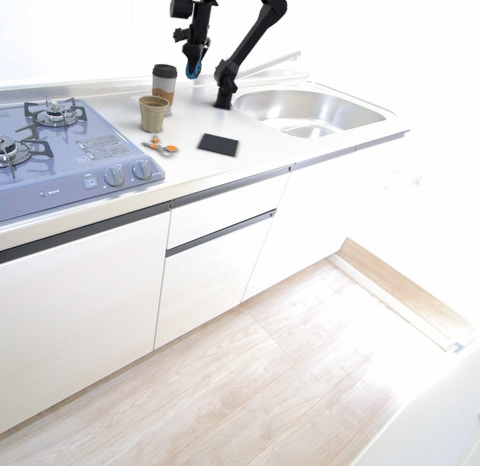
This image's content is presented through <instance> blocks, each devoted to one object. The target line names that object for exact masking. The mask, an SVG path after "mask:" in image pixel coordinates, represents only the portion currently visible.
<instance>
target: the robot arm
mask: <svg viewBox="0 0 480 466" xmlns="http://www.w3.org/2000/svg"><path fill="white" fill-rule="evenodd" d="M260 2H261V3H262V6H261V8H260V10H259V12H258V16H257V19H256V21H255V22H254V23H253V25H252V26H251V27H250V29H249V31H248V32H247V33H246V35H245V36H244V37H243V39H242V40H241V41H240V43H239V44H238V45H237V46H236V49H235V50H234V51H233V53H232V54H231V55H230V57H228V58H227V59H226V60H225V59H223V58H221V59H220V61H219V63H218V64H217V66H215V67H214V69H215V70H214V71H213V79H214V80H215V82H216V86H217V87H218V90H217V95H216V99H215V102H214V103H213V107H214V108H219V109H224V110H229V111H230V110H231V108H232V105H233V104H232V99H233V95H234V94H236V93H237V91H238V90H239V87H238V85H237V84H236V82H235V80H236V78H237V76H238V73H239V70H240V67H241V66H242V64H243V63H244V61H245V60H246V59H247V57H248V56H249V55H250V54H251V52H252V51H253V50H254V48H255V47H256V45H257V44H258V42H259V41H260V40H261V39H262V37H263V36H264V35H265V33H266V32H267V31H268V29H270V28H271V27H272V26H275V24H277V23H278V22H279V21H281V19H282V18H283V17H284V16H285V15H286V14H287V12H288V1H287V0H260ZM218 6H219V3H218V0H170V2H169V17H170V18H171V19H179V20H189V18H190V17H191V22H190V24H189V25H188V27H186V28H182V27H178V28H175V29H174V31H173V32H172V38H173V40H174V43H175V44H176V43H177V44H178V43H179V42H182V41H186V42H185V43H184V44H183V45H182V47H181V53H183V55H184V56H185V57H186V59H187V62H188V68H189V75H192V74H193V72H194V70H195V68H196V66H197V64H198V62H199V60H200V58H201V63H203V60H204V58H205V56H206V55H207V53H208V51H209V49H210V47H211V44H212V43H211V41H212V40H211V38H210V36H208V32H209V30H210V27H211V25H210V21H211V13H212V8H213V7H218Z"/></svg>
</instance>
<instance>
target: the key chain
mask: <svg viewBox="0 0 480 466" xmlns="http://www.w3.org/2000/svg"><path fill="white" fill-rule="evenodd" d="M153 137H154V138H152V142H153V143H149V142H146V141H143V142H142V144H144V145H145V146H148V147H150V148H152V149H156V150H158V151H159V153H161V154H162V155H163V156H164V157H171V156H173V155H175V152H176V151H178V148H177V146H175V145H167V146H164V147H163V146H162V145H161V144H155V143H158V142H160V139H159V138H158V135H157V134H154V135H153ZM165 150H166V151H169V152H170V153H171V154H165V153H164V152H163V151H165Z"/></svg>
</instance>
